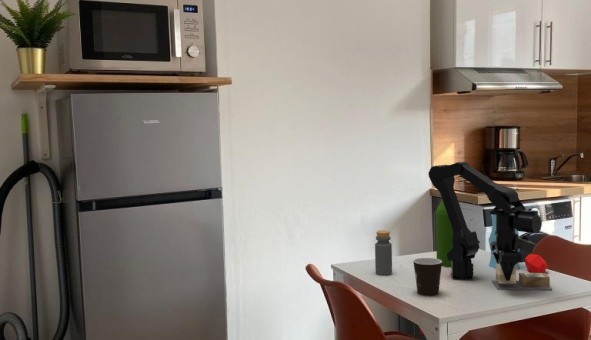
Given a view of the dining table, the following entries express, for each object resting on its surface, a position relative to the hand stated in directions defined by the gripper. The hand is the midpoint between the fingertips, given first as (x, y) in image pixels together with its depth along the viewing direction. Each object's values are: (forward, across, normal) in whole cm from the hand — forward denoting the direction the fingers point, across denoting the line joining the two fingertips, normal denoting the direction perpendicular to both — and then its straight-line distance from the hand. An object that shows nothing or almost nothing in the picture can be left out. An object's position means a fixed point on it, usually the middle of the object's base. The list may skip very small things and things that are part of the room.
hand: (505, 278), depth 174 cm
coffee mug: (+3, -6, +24) cm, 25 cm away
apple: (+3, +19, -14) cm, 24 cm away
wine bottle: (+3, +29, +14) cm, 32 cm away
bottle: (+3, +15, +38) cm, 41 cm away
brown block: (+2, +2, -9) cm, 9 cm away
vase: (+3, +25, -5) cm, 26 cm away
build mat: (+3, +2, -5) cm, 6 cm away
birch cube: (+1, 0, 0) cm, 1 cm away
